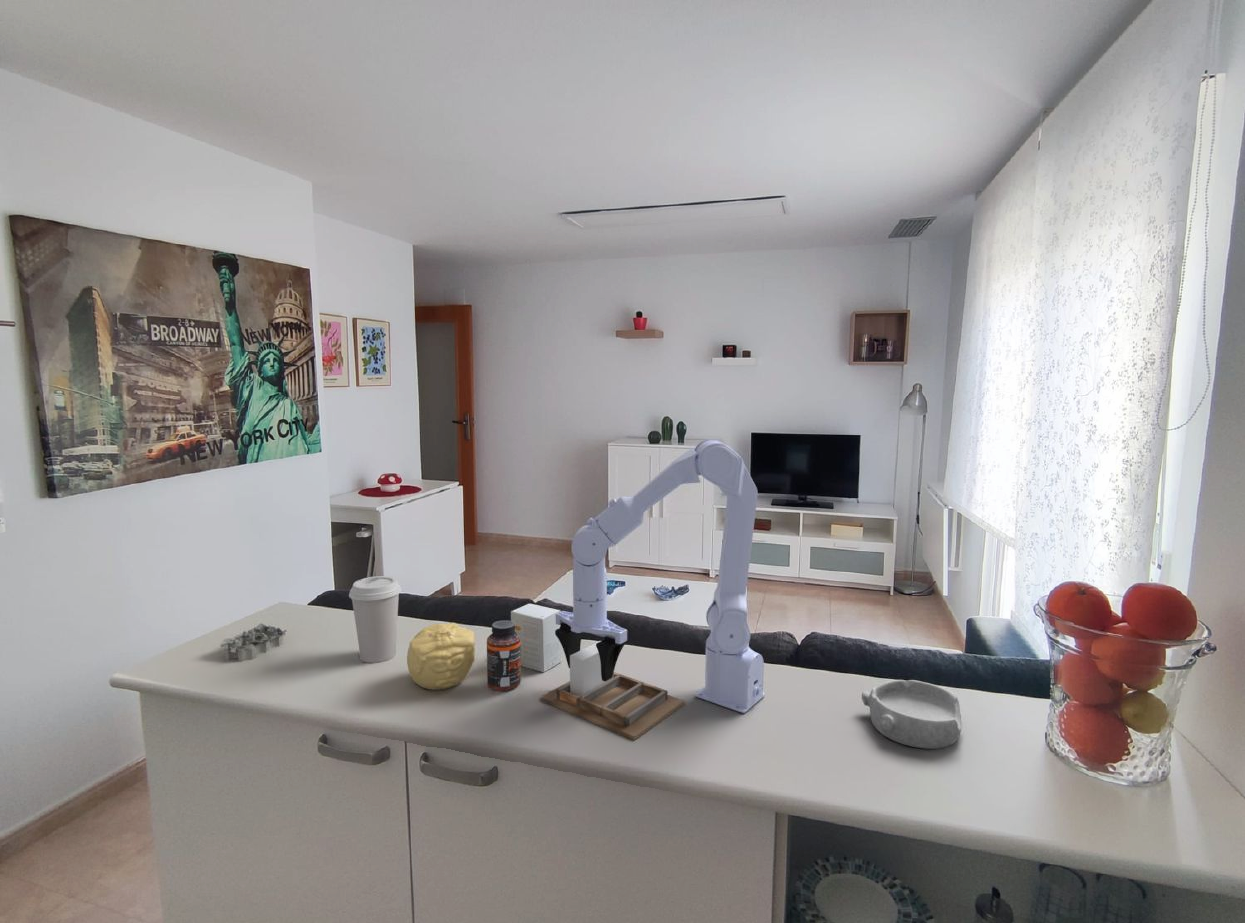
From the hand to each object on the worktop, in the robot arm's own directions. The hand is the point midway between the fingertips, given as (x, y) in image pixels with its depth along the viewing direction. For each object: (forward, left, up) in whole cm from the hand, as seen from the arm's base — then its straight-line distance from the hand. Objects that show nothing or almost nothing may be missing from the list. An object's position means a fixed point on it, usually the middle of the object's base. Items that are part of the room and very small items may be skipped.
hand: (590, 672), depth 109 cm
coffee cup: (+43, +14, -4) cm, 46 cm away
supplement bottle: (+14, +7, -4) cm, 16 cm away
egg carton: (+66, +28, -4) cm, 71 cm away
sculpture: (+24, +13, -4) cm, 28 cm away
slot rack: (-5, 0, -4) cm, 6 cm away
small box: (+16, -3, -4) cm, 17 cm away
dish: (-47, -23, -4) cm, 52 cm away
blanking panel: (0, 0, -3) cm, 3 cm away
